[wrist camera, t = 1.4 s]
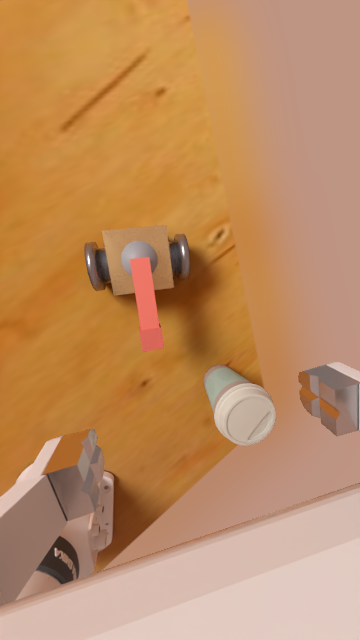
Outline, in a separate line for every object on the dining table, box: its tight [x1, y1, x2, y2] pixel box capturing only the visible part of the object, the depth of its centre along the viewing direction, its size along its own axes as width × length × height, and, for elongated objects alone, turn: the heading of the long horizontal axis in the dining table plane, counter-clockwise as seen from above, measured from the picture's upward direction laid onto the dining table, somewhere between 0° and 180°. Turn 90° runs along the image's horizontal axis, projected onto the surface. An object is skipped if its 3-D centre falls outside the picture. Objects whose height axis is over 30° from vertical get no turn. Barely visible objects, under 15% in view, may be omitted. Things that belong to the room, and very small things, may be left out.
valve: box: [85, 225, 190, 296], centre depth 31 cm, size 8×13×6 cm, turn 97°
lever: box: [121, 241, 164, 352], centre depth 27 cm, size 13×4×4 cm, turn 7°
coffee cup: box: [204, 365, 276, 445], centre depth 34 cm, size 8×8×12 cm
